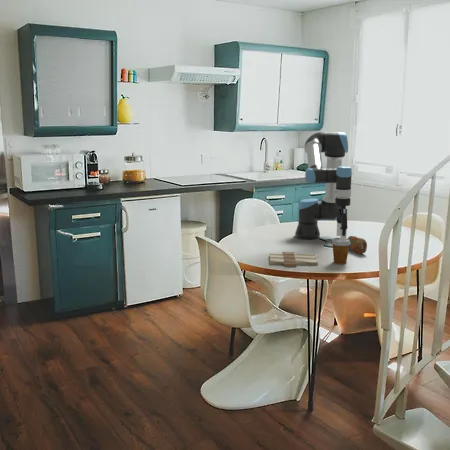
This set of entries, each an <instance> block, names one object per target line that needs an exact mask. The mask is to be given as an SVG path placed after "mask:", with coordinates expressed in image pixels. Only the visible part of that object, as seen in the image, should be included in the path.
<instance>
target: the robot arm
mask: <svg viewBox="0 0 450 450" xmlns="http://www.w3.org/2000/svg"><path fill="white" fill-rule="evenodd" d="M304 151H305V152H304V153H306V155H307V156H306V157H307V165H308V166H307V167H308V168H306V169H305V172H304V174H305V175H304V178H305V179H304V180H305V182H306V183H309V184H325V185H324V186H325V190H324V196H323V197H322V198H321V200H319V198H316V197H315V198H304V199H301V200H300V201H299V202H298V203H299V204H298V220H297V221H298V223H297V227H296V229H295V232H294V234H295V235H294V237H296V238H297V239H300V240H301V239H302V240H316V239H317V240H318V239H319V238H320V237H321V233H320V228H319V225H318V221H336V236H337V237H338V236H339V238H340V242H346V239H347V233H348V232H347V229H348V209H347V207H349V206H350V205H351V197H352V195H351V194H352V176H353V173H352V172H353V169H352V167H351V166H346V165H344V166H343V165H342V163H343V159H344V157H345V156H346V154H347V153H349V142H348V136H347V133H345V132H341V131H319V132H315V133H313V134H311V135H310V136H309V137H308V138H307V139H306V141H305V143H304ZM322 153H324V157H325V158H326V168H324V166H323V159H322Z"/></svg>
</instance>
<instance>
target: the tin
mask: <svg viewBox="0 0 450 450" xmlns="http://www.w3.org/2000/svg"><path fill="white" fill-rule="evenodd" d="M347 239H349V240H350V245H349V250H348V251H350V252H353V253H355V254H359V255H361V254H364V253H366V251H367V248H368V243H367V241H366V239H365V238H361V237H358V236H356V235H350V236H348V237H347Z"/></svg>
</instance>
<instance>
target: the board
mask: <svg viewBox="0 0 450 450" xmlns="http://www.w3.org/2000/svg"><path fill="white" fill-rule="evenodd" d="M269 264H270V265H275V266H277V265H278V266H284V267H285V268H286V267H289V268H292V267H293V268H295V267H297V266H319V262H318V259H317V256H316V254H315V253H294V252H293V251H290V252H289V251H283V252H282V253H277V252H275V253H271V252H270V253H269Z"/></svg>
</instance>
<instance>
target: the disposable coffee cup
mask: <svg viewBox="0 0 450 450" xmlns="http://www.w3.org/2000/svg"><path fill="white" fill-rule="evenodd" d="M340 238H341V237H335V238H332V240H331V244H332V245H331V247H332V255H333V264H337V265H344V264H347V261H348V254H349V251H350V250H349V245H350V240H349V239H348V238H346V242H340Z"/></svg>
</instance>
